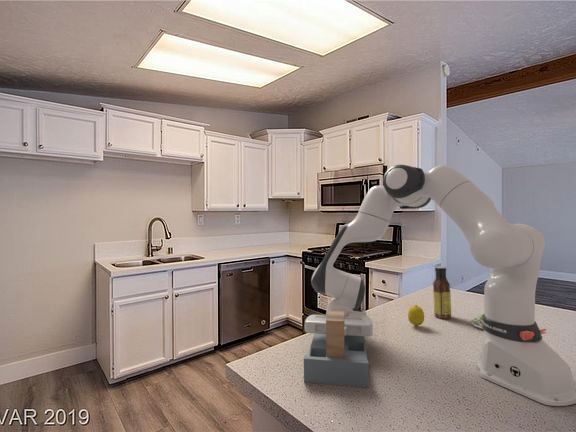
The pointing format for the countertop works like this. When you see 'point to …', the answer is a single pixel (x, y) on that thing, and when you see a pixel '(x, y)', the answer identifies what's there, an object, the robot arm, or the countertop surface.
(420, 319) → the lemon
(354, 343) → the deck
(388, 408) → the countertop surface
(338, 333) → the block
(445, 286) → the sauce bottle
